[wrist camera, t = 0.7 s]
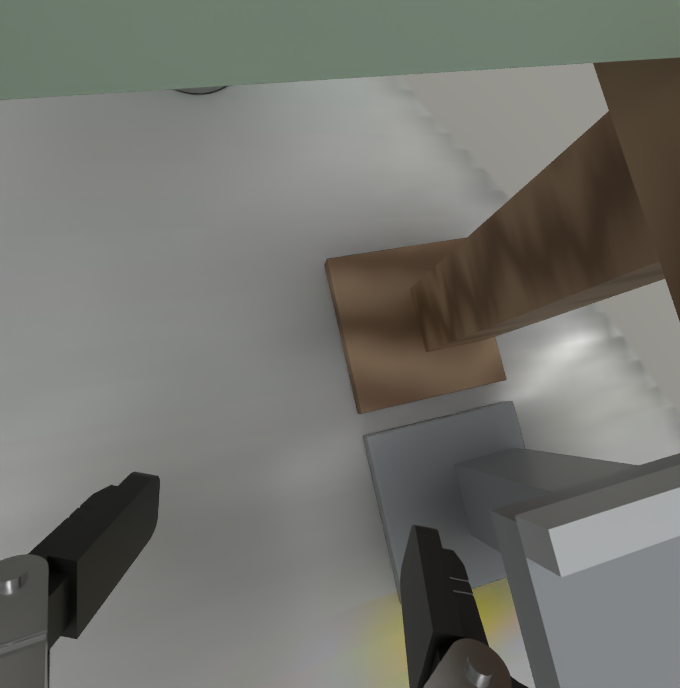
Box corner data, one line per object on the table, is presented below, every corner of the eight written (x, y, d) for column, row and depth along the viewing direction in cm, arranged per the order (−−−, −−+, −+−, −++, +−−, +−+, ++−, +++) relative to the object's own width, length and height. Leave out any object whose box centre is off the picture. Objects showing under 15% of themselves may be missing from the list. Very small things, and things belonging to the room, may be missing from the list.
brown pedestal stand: (314, 266, 38) (523, -443, 6) (469, 242, 41) (1115, -313, 10) (347, 416, 36) (855, 438, 5) (507, 378, 39) (1449, 243, 8)
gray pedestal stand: (352, 438, 36) (539, 498, 11) (512, 399, 39) (945, 375, 14) (389, 606, 34) (716, 1145, 9) (554, 551, 37) (1136, 835, 12)
